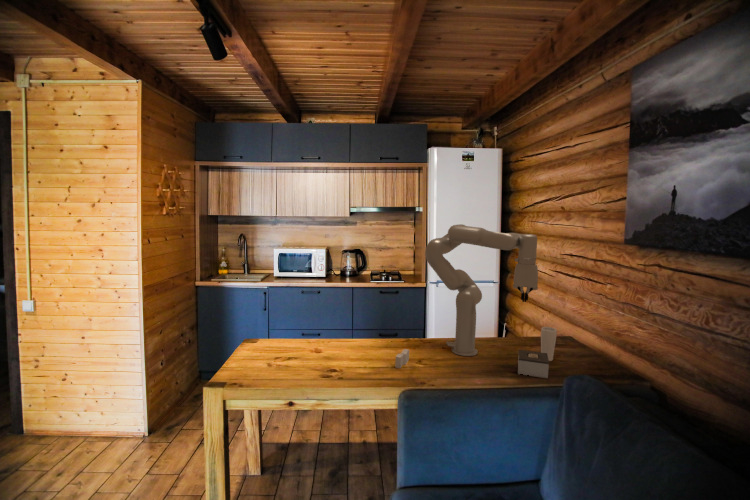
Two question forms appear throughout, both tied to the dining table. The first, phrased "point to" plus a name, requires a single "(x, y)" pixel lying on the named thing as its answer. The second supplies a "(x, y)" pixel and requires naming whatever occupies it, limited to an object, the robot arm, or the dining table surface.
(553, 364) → the dining table surface
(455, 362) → the dining table surface
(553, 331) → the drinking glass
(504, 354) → the dining table surface
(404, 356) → the grey grooved block
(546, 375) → the collar block
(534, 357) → the peg
